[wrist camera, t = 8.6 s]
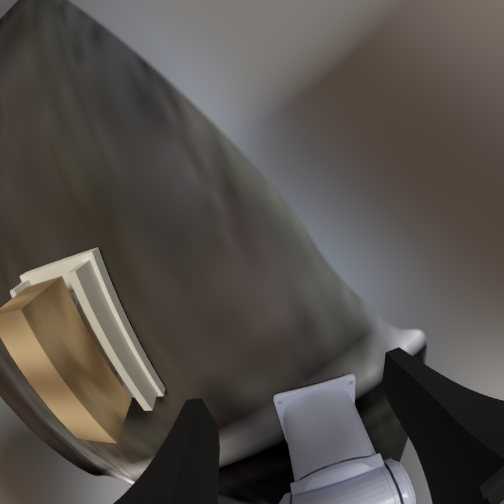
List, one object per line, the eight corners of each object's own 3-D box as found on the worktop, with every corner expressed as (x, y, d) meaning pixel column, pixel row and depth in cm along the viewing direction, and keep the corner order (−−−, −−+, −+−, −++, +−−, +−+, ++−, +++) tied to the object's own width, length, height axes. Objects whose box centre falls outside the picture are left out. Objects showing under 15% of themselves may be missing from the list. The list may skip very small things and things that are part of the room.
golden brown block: (131, 399, 19) (116, 443, 14) (94, 399, 19) (76, 438, 14) (62, 275, 15) (20, 309, 11) (27, 286, 15) (-11, 317, 11)
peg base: (165, 388, 22) (159, 413, 19) (91, 391, 22) (81, 411, 19) (98, 247, 17) (76, 262, 14) (25, 272, 18) (5, 286, 14)
